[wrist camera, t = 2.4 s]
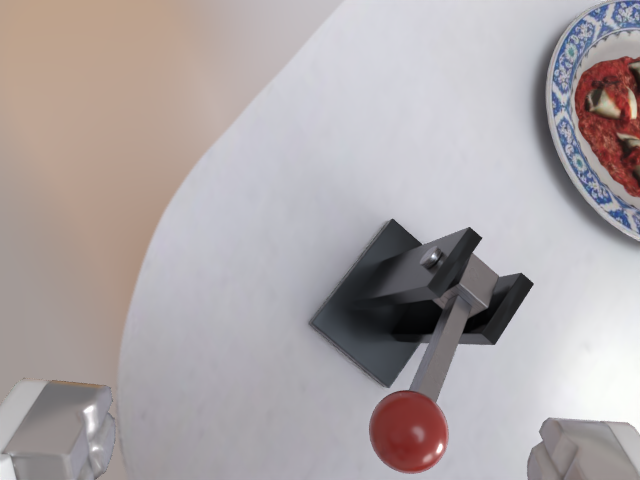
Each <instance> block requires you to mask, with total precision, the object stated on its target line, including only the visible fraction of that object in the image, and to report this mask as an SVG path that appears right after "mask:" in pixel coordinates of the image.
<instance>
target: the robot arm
mask: <svg viewBox="0 0 640 480" xmlns="http://www.w3.org/2000/svg"><path fill="white" fill-rule="evenodd" d="M112 402H113V400H112V393H111V388H110V387H108V386H106V385H96V384H86V383H76V382H66V381H55V380H52V381H49V380H40V379H28V378H23V379H22V380H20V381H19V382H17V383H16V384H15V385H14V386H13V388H12V389H11V391H10V392H9V393H8V395H7V396H6V397H5V399H4V400H3V402H2V403H1V404H0V480H96V479H97V478H98V477H99V476H101V475H102V474H103V473H105V472H106V469H107V467H108V464H109V462H110V459H111V456H112V452H113V448H114V443H115V434H116V426H115V419H114V418H113V417H112V416H111V415H110V414H109V413H108V410H109V408H110V406H111V404H112ZM539 433H540V435H541V437H542V439H543V441H542V442H541V443H539V444H538V445H536V446H535V447H533V448H532V450H531V453H530V456H529V458H528V464H527V477H528V480H640V435H639V433H638V432H637V430H636V429H635V428H634V427H633V426H632V425H630V424H629V423H625V422H610V421H600V422H599V421H594V420H578V419H562V418H548V419H547V420H545V421H544V422H543V424H542V426H541V429H540V431H539Z"/></svg>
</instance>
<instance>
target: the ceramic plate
mask: <svg viewBox="0 0 640 480" xmlns="http://www.w3.org/2000/svg"><path fill="white" fill-rule="evenodd" d="M546 110H547V116H548V123H549V128H550V132H551V135H552V138H553V142H554V145H555V148H556V151H557V153H558V156H559V158H560V160H561V162H562V164H563V166H564V168H565V170H566V172H567V174H568V175H569V177H570V179H571V180H572V182H573V184H574V185H575V186H576V188H577V189H578V191H579V192H580V193H581V195H582V196H583V197H584V199H585V200H586V201H587V202H588V203H589V204H590V205H591V206H592V207H593V208H594V209H595V210H596V212H597V213H598V214H599V215H600V216H602V217H603V218H604V219H605V220H606V221H608V222H609V223H610V224H611V225H613V226H614V227H615V228H617V229H618V230H620V231H621V232H623V233H625V234H626V235H628V236H630V237H632V238H634V239H636V240H638V241H640V0H610V1H606V2H603V3H601V4H598V5H595V6H594V7H592V8H590V9H588V10H587V11H585V12H584V13H582V14H581V15H580V16H579V17H578V18H576V19H575V20H574V21H573V22H572V23H571V24H570V26H569V27H568V28H567V29H566V30H565V32H564V33H563V35H562V36H561V38H560V39H559V41H558V43H557V45H556V47H555V49H554V52H553V54H552V57H551V60H550V64H549V68H548V73H547V80H546Z"/></svg>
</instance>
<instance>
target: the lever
mask: <svg viewBox="0 0 640 480" xmlns="http://www.w3.org/2000/svg"><path fill="white" fill-rule="evenodd" d="M498 278H499V276H498V275H497V274H496V273H495V272H494V271H493V270H491V269H490V268H489V267H488V266H487V265H486V264H485V263H483V262H482V261H481V260H480V259H479V258H478V257H477V256H476V255H474V254H473V253H472V254H471V255H470V257H469V258H468V259H467V261H466V262H465V264H464V265H463V267H462V268H461V269H460V271H459V272H458V274H457V275H456V277H455V278H454V279H453V281H452V282H451V284H450V285H449V287H448V288H447V289H446V291H445V292H444V294H443V295H442V297H441V298H437V299H432V300H433V301H434V302H435V303H437V304H438V305H439V306H440V307H441V308H442V309H443V311H442V314H441V316H440V318H439V321H438V323H437V325H436V328H435V330H434V333H433V335H432V337H431V340H430V342H429V344H428V347H427V349H426V351H425V354H424V356H423V358H422V361H421V363H420V365H419V368H418V370H417V372H416V375H415V377H414V379H413V382H412V384H411V386H410V389H409V390H403V391H397V392H394V393H392V394H389V395H388V396H386V397H385V398H383V399H382V400H381V401H380V402H379V403H378V405H377V406H376V407H375V409H374V411H373V413H372V416H371V419H370V424H369V435H370V441H371V444H372V447H373V449H374V451H375V453H376V454H377V456H378V457H379V458H380V459H381V461H382V462H383V463H385V464H386V465H387V466H389V467H390V468H392V469H394V470H396V471H399V472H402V473H408V474H414V473H420V472H423V471H426V470H428V469H430V468H431V467H433V466H434V465H435V464H437V463H438V461H439V460H440V459H441V458H442V456H443V454H444V453H445V450H446V447H447V444H448V438H449V432H448V425H447V421H446V418H445V416H444V414H443V412H442V410H441V409H440V407H439V406H438V405H437V404H436V401H437V399H438V396H439V393H440V391H441V388H442V385H443V383H444V380H445V377H446V375H447V372H448V369H449V367H450V364H451V361H452V359H453V356H454V353H455V351H456V348H457V345H458V343H459V340H460V337H461V335H462V332H463V329H464V327H465V324H466V321H467V319H468V318H470V317H472V316H474V315H476V314H478V313H480V312H482V311H484V310H485V309H487V308H488V307H489V304H490V301H491V298H492V295H493V292H494V289H495V286H496V284H497V281H498Z"/></svg>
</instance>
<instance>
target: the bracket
mask: <svg viewBox="0 0 640 480" xmlns="http://www.w3.org/2000/svg"><path fill="white" fill-rule="evenodd" d="M481 239H482V237H480V236H479V235H478V234H477V233H476V232H475V231H474V230H473V229H471V228H470V227H468V228H466V229H463V230H460V231H458V232H455V233H453V234H450V235H448V236H445V237H442V238H440V239H437V240H435V241H432V242H429V243H427V244H424V245H422V244H421V243H420V242H419V241H418V240H417V239H415V238H414V237H413V236H412V235H411V234H410V233H409V232H407V231H406V230H405V229H404V228H403V227H402V226H401V225H399V224H398V223H397V222H396V221H395V220H394V219H391V220H390V221H388V222H387V223H386V224H385V225H384V227H383V228H382V229H381V231H380V232H379V233H378V234H377V236H376V237H375V238H374V239H373V241H372V242H371V243H370V245H369V246H368V247H367V248H366V250H365V251H364V252H363V254H362V255H361V256H360V257H359V259H358V260H357V261H356V263H355V264H354V265H353V266H352V268H351V269H350V270H349V272H348V273H347V274H346V275H345V277H344V278H343V279H342V281H341V282H340V283H339V284H338V286H337V287H336V288H335V290H334V291H333V292H332V293H331V295H330V296H329V297H328V299H327V300H326V301H325V302H324V304H323V305H322V306H321V307H320V309H319V310H318V311H317V313H316V314H315V315H314V316H313V318H312V319H311V320H310V322H309V325H311V326H312V327H313V328H314V329H315V330H317V331H318V332H319V333H320V334H321V335H323V336H324V337H325V338H326V339H327V340H328V341H330V342H331V343H332V344H333V345H334V346H336V347H337V348H338V349H339V350H340V351H342V352H343V353H344V354H345V355H346V356H348V357H349V358H350V359H351V360H352V361H354V362H355V363H356V364H357V365H358V366H359V367H361V368H362V369H363V370H364V371H365V372H367V373H368V374H369V375H370V376H371V377H373V378H374V379H375V380H376V381H377V382H379V383H380V384H381V385H382V386H383V387H387V388H390V387H391V385H392V384H393V382H394V381H395V379H396V378H397V377H398V375H399V374H400V372H401V371H402V369H403V368H404V366H405V365H406V364H407V362H408V361H409V359H410V358H411V356H412V355H413V353H414V352H415V351H416V349H417V348H418V346H419V345H420V343H429V342H430V340H431V337H432V335H433V333H434V330H435V328H436V325H437V323H438V321H439V318H440V316H441V314H442V311H443V309H442V308H441V307H440V306H439V305H438V304H437V303H435V302H434V301H433V300H432V299H437V298H441V297H442V295H443V294H444V292H445V291H446V289H447V288H448V287H449V285H450V284H451V282H452V281H453V279H454V278H455V277H456V275H457V274H458V272H459V271H460V269H461V268H462V267H463V265H464V264H465V262H466V261H467V259H468V258H469V257H470V255H471V254H472V252H473V251H474V249H475V248H476V247H477V245H478V244H479V242H480V241H481ZM533 284H534V283H533V282H531V281H530V280H529V279H528V278H527V277H526V276H525V275H523V274H522V273H518V274H513V275H507V276H502V277H499V278H498V281H497V284H496V286H495V289H494V292H493V295H492V298H491V301H490V304H489V307H488V308H487V309H485V310H484V311H482V312H480V313H478V314H476V315H474V316H472V317H470V318H468V319H467V321H466V324H465V327H464V329H463V332H462V335H461V337H460V340H459V343H458V344H479V345H495V344H496V342H497V341H498V339H499V338H500V336H501V334H502V333H503V331H504V330H505V328H506V327H507V325H508V323H509V322H510V320H511V319H512V317H513V316H514V314H515V313H516V311H517V309H518V308H519V306H520V305H521V303H522V302H523V300H524V298H525V297H526V295H527V294H528V292H529V291H530V289H531V288H532V286H533Z"/></svg>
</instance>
